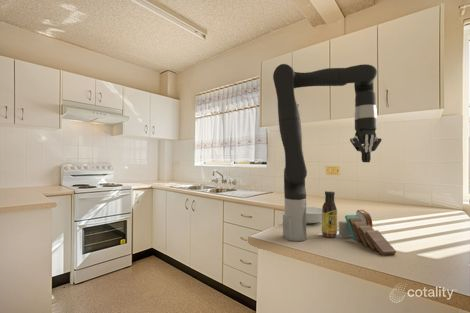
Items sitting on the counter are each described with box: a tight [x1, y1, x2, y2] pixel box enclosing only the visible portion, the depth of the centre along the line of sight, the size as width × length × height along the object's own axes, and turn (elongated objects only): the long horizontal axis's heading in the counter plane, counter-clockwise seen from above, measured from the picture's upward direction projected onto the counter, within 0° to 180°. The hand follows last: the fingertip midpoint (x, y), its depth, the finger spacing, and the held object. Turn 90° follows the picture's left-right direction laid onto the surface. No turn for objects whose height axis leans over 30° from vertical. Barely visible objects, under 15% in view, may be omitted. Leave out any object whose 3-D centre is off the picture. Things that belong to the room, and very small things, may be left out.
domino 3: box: [353, 222, 370, 247], centre depth 93 cm, size 2×5×10 cm
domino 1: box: [344, 214, 358, 240], centre depth 99 cm, size 2×5×10 cm
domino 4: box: [358, 226, 378, 251], centre depth 89 cm, size 2×5×10 cm
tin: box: [355, 209, 373, 228], centre depth 113 cm, size 15×3×8 cm, turn 168°
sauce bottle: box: [321, 190, 338, 238], centre depth 102 cm, size 6×6×20 cm
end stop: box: [338, 220, 352, 237], centre depth 103 cm, size 3×9×6 cm, turn 97°
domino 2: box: [348, 218, 363, 243], centre depth 97 cm, size 2×5×10 cm
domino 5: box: [365, 229, 397, 256], centre depth 85 cm, size 2×5×10 cm
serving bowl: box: [306, 205, 322, 225], centre depth 126 cm, size 21×21×7 cm
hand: (366, 162), depth 89 cm, fingers closed
